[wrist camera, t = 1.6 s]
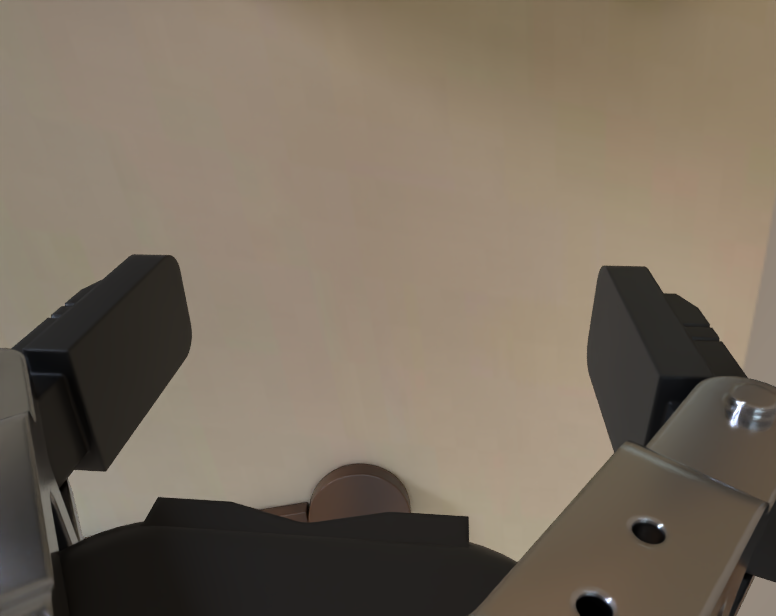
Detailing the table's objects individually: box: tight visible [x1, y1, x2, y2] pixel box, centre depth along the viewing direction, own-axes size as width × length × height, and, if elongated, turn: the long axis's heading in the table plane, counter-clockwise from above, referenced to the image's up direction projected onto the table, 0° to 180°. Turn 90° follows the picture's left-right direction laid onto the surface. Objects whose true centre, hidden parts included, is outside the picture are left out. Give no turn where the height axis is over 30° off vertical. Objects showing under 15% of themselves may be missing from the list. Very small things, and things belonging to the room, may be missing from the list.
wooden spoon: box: [83, 464, 411, 540], centre depth 37 cm, size 21×6×1 cm, turn 99°
